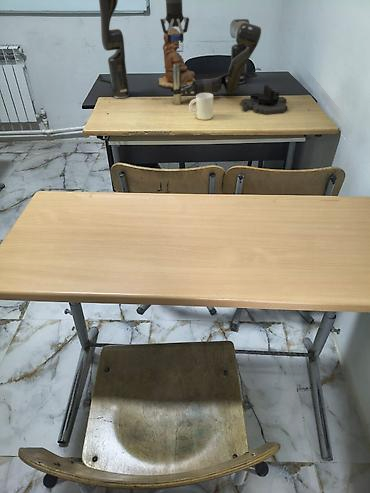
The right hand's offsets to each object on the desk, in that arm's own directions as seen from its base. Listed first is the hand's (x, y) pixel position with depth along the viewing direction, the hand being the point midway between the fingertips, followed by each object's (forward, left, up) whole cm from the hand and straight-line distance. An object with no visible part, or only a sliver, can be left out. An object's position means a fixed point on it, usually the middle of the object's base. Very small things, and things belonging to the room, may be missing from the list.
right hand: (172, 91), depth 190 cm
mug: (+5, +26, -6) cm, 27 cm away
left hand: (-2, +1, +23) cm, 23 cm away
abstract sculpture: (-28, +41, -6) cm, 50 cm away
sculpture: (-28, -27, -6) cm, 39 cm away
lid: (-2, +1, +26) cm, 26 cm away
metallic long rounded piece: (-2, +1, -6) cm, 7 cm away
